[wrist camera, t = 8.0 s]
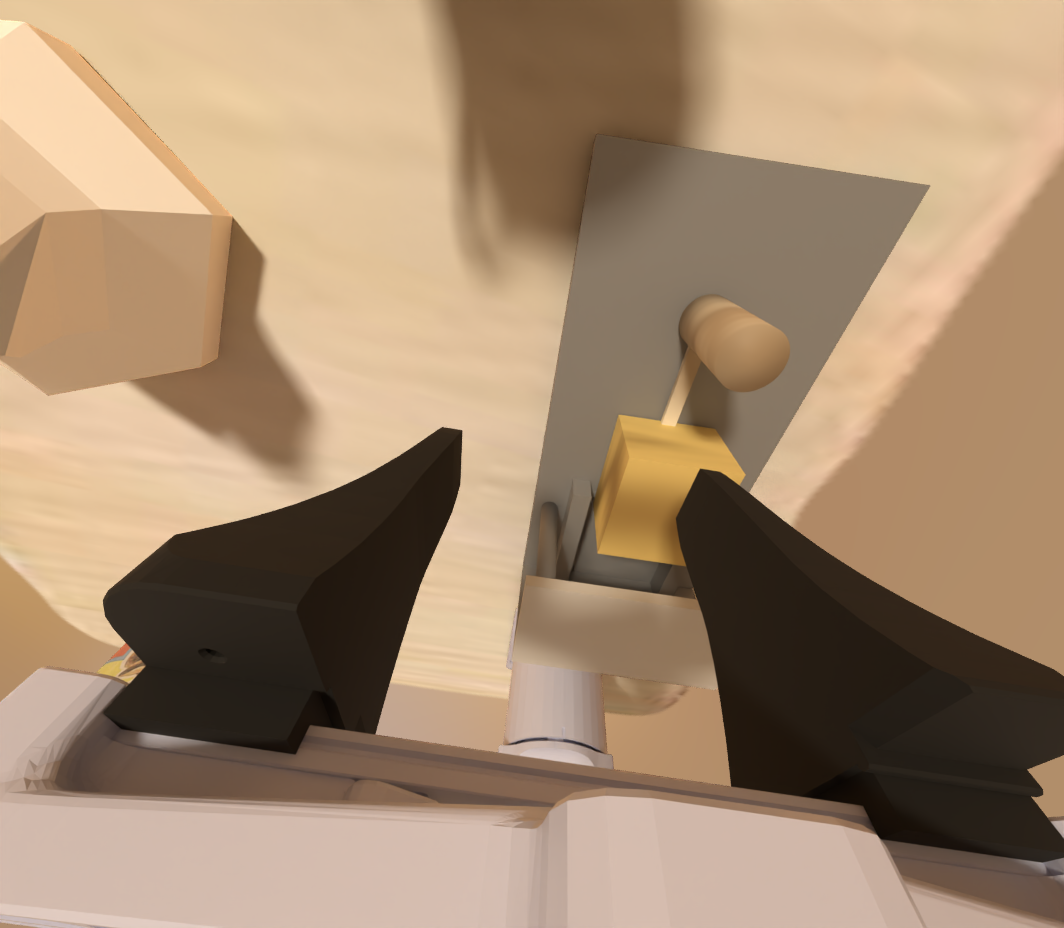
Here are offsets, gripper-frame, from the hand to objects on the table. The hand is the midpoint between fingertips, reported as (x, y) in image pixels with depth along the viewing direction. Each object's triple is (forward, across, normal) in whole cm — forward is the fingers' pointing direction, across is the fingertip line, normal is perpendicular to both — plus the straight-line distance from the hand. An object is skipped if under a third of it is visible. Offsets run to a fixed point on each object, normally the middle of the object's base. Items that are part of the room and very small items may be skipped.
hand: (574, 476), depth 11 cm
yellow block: (+8, -5, +1) cm, 10 cm away
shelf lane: (+9, -5, +3) cm, 11 cm away
